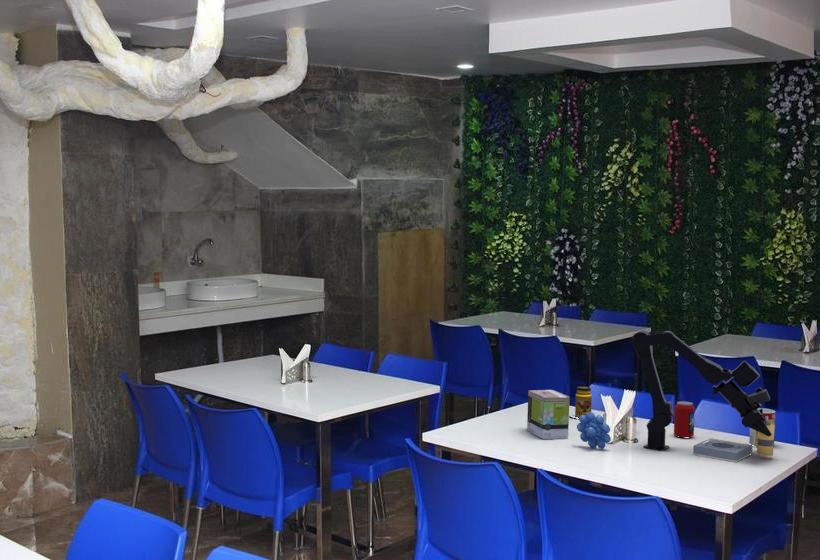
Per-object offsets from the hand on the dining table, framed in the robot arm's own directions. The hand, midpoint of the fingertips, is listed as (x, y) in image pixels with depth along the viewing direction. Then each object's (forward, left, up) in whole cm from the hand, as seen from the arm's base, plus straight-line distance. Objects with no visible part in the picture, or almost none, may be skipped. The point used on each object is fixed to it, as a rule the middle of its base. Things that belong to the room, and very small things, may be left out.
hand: (770, 433), depth 301 cm
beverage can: (+11, +33, -8) cm, 36 cm away
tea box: (-19, +70, -8) cm, 73 cm away
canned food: (+17, +8, -8) cm, 20 cm away
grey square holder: (-5, +13, -8) cm, 16 cm away
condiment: (+14, +75, -8) cm, 77 cm away
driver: (0, +1, -7) cm, 7 cm away
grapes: (-27, +48, -8) cm, 56 cm away
